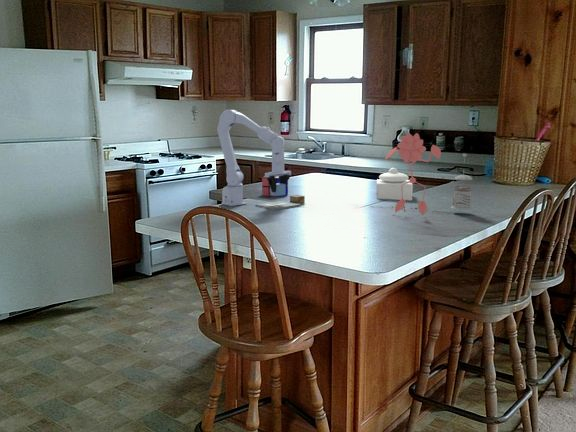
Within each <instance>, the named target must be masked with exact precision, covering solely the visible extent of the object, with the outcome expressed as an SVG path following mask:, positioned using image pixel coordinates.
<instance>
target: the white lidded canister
mask: <svg viewBox="0 0 576 432" xmlns="http://www.w3.org/2000/svg"><path fill="white" fill-rule="evenodd" d="M378 178H379V179H378ZM378 178H377V179H376V199H378V200H381V199H382V200H394V201H395V200H397V201H398V200H399V201H400V200H401V199H402V190H403V199H405V201H413V187H414V186H413V184H414V183H413V184H412V183H410V182H408V181H410V177H409V175H407V174H405V173H402V172H399V171H398V169H397V168H396V167H391V168H389V170H388V172H384V173H381V174H380V175H379V176H378ZM406 182H408V183H406ZM404 183H406V184H404ZM402 184H404V185H402Z"/></svg>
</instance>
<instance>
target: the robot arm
mask: <svg viewBox="0 0 576 432" xmlns="http://www.w3.org/2000/svg"><path fill="white" fill-rule="evenodd" d="M235 124H241V125H243V126H245V127H247V128H248V129H250V130H252V131H253V132H255V133H256V135H257V137H258V138H259V139H261V140H262V141H263V142H265V143H267V144H268V145H270V147H271V151H272V152H271V171H269V172H265V173H264V176H265V177H267V180H268V182H269V184H270V187H271V190H272V192H276V183H277V179H278V178H275V176H279V179H280V183H281V184H287V182H288V183H289V179H290V176H292V170H285V147H284V146H285V145H286V141H285V138H284V137H283V136H281V135H279V134H278V133H277V132H274V131H272V130H271V128H270V127H269V126H265V125H264V126H260V125H259V124H257V123H256V122H255V121H253V120H252V119H251V118H249V117H247V115H245V114H243V113H242V112H239V111H237V110H236V109H225V110H224V111H222V113H221V114H220V116H219V121H218V124H217V129H216V131H217V136H218V139H219V142H220V146H221V150H222V154H223V158H224V161H225V165H226V166H225V167H226V169H225V170H226V171H225V172H226V183H227V185H226V186H224V187H223V188H222V191H221V196H222V197H221V199H222V202H221V205H226V206H229V207H232V206H235V207H236V206H240V205H247V204H248V202H244V191H243V190H244V188H243V187H244V185H243V181H244V177H245V176H244V175H245V174H244V173H243V172H242V170H241V169H240V166H239V165H238V162H237V157H236V155H235V150H234V146H233V144H232V143H233V142H232V139H231V135H230V130H231V129H232V127H233V126H234V125H235Z"/></svg>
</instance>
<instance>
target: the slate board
mask: <svg viewBox="0 0 576 432" xmlns="http://www.w3.org/2000/svg"><path fill="white" fill-rule="evenodd" d="M258 206H260V207H259V208H262V207H265V208H264V209H267V208H269V209H268V210H271V209H273V210H272V211H281V210H286V209H292V208H299V207H300V208H301V207H302V204H297V203H291V202H290V201H285V200H277V201H270V202H269V201H268V202H265V203H264V202H262V203H256V204H255V207H258ZM280 209H281V210H280Z"/></svg>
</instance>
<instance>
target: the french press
mask: <svg viewBox="0 0 576 432" xmlns="http://www.w3.org/2000/svg"><path fill="white" fill-rule="evenodd" d="M467 156H468V155H467V154H466V153H462V157H464V158H463V162H465V161H466V160H465V158H466V157H467ZM462 173H463V174H459V175H458V176H457V175H456V176H455V177H454V180H456V181H472V180H473V177H471V176H469V175H466V174H465V170H463V172H462ZM454 180H453V181H450V182H449V183H448V185H447V189H449V187H450V185H451V184H452V183H453V185H455V184H456V182H455V181H454ZM454 188H455V189H454V190H453V195H451V194H450V192H449V190H447V193H448V195H449V196H450V197H452V205H451V206H450V208H451V209H454V210H458V211H459V210H461V211H463V210H464V211H467V210H468V211H469V210H473V209H474V208H473V206H471V205H472V204H471V202H472V190H471V188H472V187H471V186H468V185H467V186H465V185H456V186H454Z"/></svg>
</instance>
